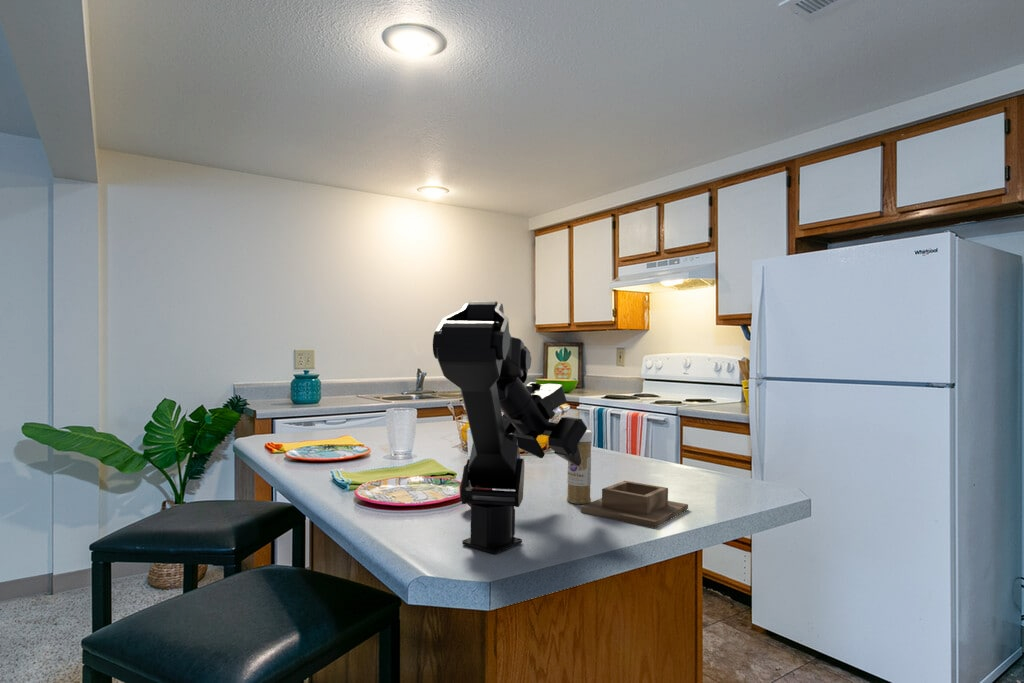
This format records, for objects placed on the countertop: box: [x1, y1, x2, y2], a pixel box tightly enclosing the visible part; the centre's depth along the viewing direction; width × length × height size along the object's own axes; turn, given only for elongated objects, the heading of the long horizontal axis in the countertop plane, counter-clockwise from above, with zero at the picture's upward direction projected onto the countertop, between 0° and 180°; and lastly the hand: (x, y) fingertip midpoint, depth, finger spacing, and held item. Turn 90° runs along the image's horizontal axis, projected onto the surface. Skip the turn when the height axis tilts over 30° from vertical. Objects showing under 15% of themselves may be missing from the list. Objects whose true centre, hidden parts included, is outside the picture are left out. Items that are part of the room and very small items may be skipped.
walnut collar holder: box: [580, 480, 689, 529], centre depth 105 cm, size 14×14×4 cm
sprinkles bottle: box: [566, 429, 593, 505], centre depth 110 cm, size 5×5×14 cm
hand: (560, 460), depth 107 cm, fingers open, 9 cm apart
